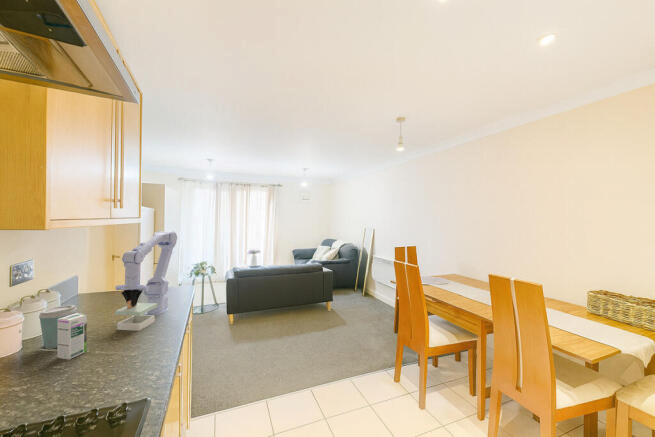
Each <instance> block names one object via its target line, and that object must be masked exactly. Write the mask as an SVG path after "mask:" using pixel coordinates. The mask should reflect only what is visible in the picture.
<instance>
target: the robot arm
mask: <svg viewBox="0 0 655 437" xmlns="http://www.w3.org/2000/svg"><path fill="white" fill-rule="evenodd" d="M177 241H178V235H177V232H176V231H165V230H164V231H162V230H161V231H160V230H157V231H155V232H154V233H153V236H152V237H151V238H150V239H149V240H147V241H145V242H140V243H139V245H137V246H135V247H134V248H133V249H131V250H127V251H126V252H124V253H123V255H122V257H121V261H122V263H123V267H124V284H118V285H115V291H121V295H122V296H123V297H124V299H125V303H127V301H130V300H131V305H132V306H135V305H137V303H138V301H139V299H140V296H141V294H142V293H143V294H144V296H145V297H146V298H147V303H157V304H158V305H157V307H156V308H154V309H152V310H150V311H148V312H146V313H144V314H143V315H153V316H159V315H160V314H162V313H164V312H166V311H167V310H169V309H170V308H169V307H168V302H169V301H168V299H169V298H168V296H167V294H168V291H169V284H170V283H169V281H168V280H167V279H166V274H167V270H168V267H169V265H170V261H171V257H172V253H173V250H174V248H175V247H176V244H177ZM156 245H157V246H158V247H159V248H161V250H160V251H161V252H160V255H159V258H158V261H157V265H156V268H155V271H154V274H153V277H151V278H150V279H148V280H147V283H146V284H145V285H143V284H141V263H143V261H144V260H145V258H146V256H147V255H149V253H151V252H152V251H153V248H154V247H155V246H156Z"/></svg>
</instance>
